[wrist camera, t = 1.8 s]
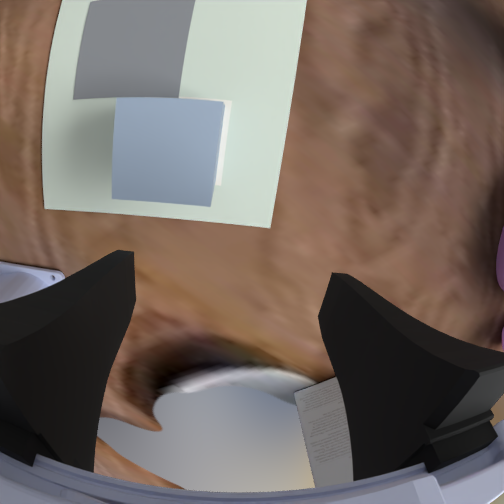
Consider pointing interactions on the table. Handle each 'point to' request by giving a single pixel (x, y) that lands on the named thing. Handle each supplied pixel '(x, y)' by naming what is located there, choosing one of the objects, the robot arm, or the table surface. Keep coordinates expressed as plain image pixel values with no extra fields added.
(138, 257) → the table surface
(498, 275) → the container set
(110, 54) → the mat
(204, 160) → the blue-grey rectangular block
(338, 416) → the skincare box
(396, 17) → the table surface
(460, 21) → the table surface
